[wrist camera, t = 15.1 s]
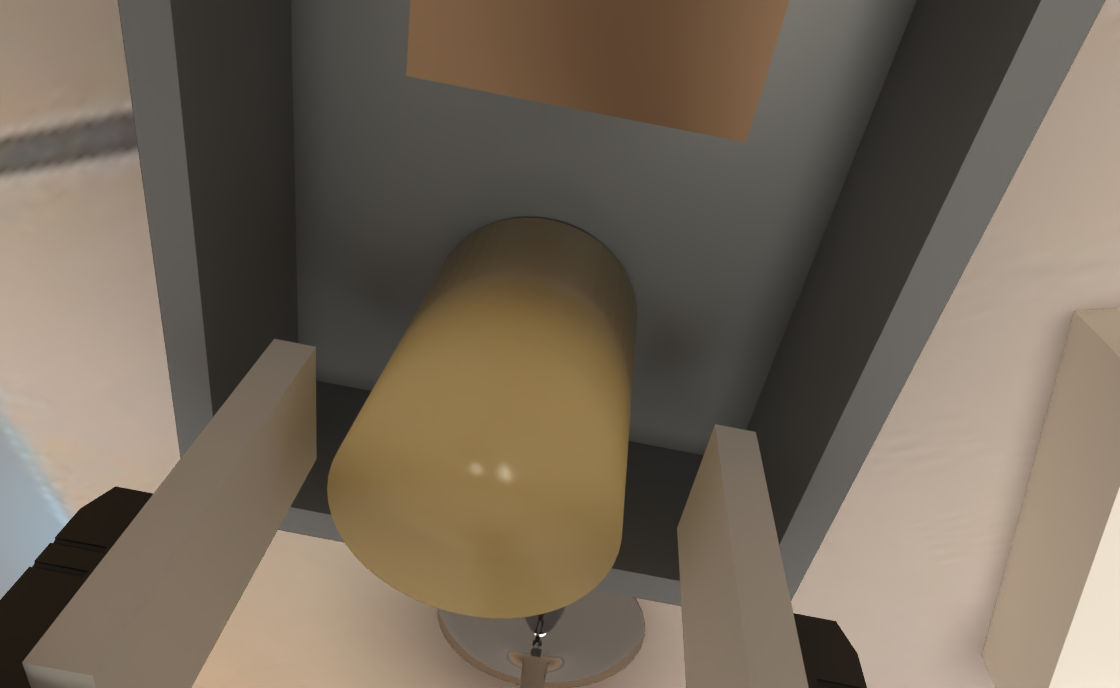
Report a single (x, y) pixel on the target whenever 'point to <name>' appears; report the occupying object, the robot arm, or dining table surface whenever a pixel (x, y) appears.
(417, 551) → the ochre canister
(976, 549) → the dining table surface
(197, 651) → the robot arm
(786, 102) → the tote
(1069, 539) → the bracket
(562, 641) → the wine glass
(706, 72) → the walnut cube
